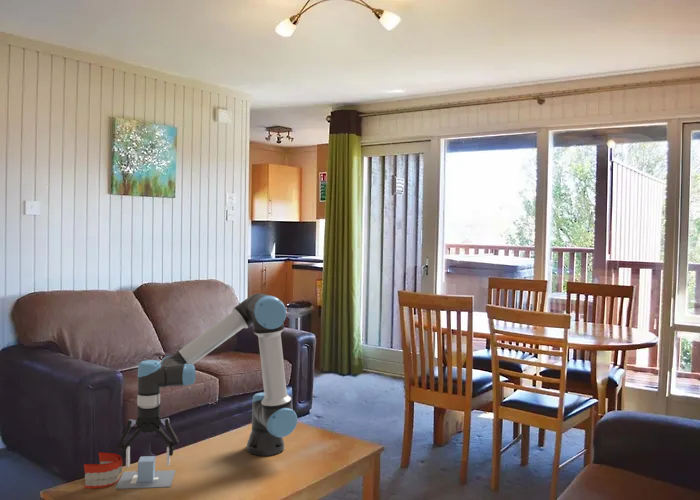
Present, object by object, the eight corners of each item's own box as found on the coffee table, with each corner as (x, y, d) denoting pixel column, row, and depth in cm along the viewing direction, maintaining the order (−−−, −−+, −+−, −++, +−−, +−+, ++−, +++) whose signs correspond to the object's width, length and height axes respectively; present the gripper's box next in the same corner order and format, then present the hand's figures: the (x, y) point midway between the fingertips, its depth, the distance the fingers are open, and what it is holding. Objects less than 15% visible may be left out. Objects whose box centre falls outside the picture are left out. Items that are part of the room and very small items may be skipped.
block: (154, 475, 209) (155, 456, 208) (152, 481, 204) (153, 461, 203) (140, 476, 208) (140, 456, 208) (137, 482, 203) (138, 461, 203)
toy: (112, 490, 196) (113, 467, 196) (82, 489, 196) (82, 465, 196) (127, 475, 209) (128, 453, 209) (98, 474, 209) (99, 452, 209)
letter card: (175, 471, 214) (175, 470, 214) (170, 487, 200) (170, 486, 200) (123, 472, 211) (123, 471, 211) (114, 489, 197) (114, 488, 197)
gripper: (186, 401, 211) (186, 459, 212) (113, 403, 207) (113, 462, 208) (184, 407, 204) (183, 467, 204) (108, 409, 200) (108, 471, 200)
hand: (148, 465), depth 206 cm, fingers open, 13 cm apart
